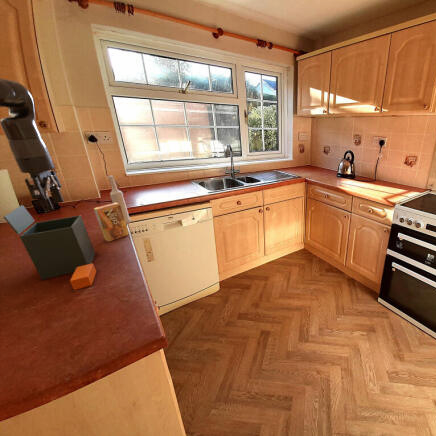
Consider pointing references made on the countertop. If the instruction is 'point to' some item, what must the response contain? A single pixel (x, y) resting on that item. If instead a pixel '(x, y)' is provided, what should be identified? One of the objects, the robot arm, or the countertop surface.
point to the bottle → (119, 199)
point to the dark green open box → (58, 246)
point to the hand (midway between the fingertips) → (54, 206)
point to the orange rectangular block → (83, 276)
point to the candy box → (111, 221)
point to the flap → (19, 219)
